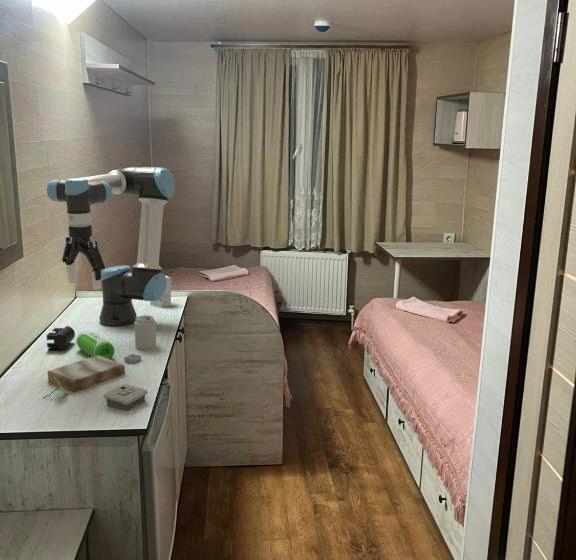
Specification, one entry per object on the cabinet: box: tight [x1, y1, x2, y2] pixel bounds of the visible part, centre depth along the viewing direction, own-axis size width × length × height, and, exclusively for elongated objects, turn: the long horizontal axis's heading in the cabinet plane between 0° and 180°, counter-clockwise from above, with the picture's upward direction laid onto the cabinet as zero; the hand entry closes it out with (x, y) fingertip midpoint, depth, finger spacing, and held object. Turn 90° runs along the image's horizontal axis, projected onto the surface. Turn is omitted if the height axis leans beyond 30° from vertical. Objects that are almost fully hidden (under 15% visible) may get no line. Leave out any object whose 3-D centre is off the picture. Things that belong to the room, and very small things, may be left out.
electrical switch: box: [103, 383, 149, 412], centre depth 181 cm, size 9×5×9 cm
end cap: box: [46, 325, 76, 352], centre depth 229 cm, size 10×7×7 cm
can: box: [133, 315, 157, 351], centre depth 228 cm, size 8×8×12 cm
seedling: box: [42, 377, 70, 399], centre depth 186 cm, size 7×8×7 cm
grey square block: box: [123, 353, 142, 365], centre depth 215 cm, size 4×4×2 cm
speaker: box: [75, 330, 115, 360], centre depth 221 cm, size 18×7×8 cm, turn 41°
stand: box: [47, 355, 126, 394], centre depth 200 cm, size 19×14×4 cm
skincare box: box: [149, 274, 172, 309], centre depth 282 cm, size 8×6×15 cm
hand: (84, 285), depth 215 cm, fingers open, 13 cm apart
